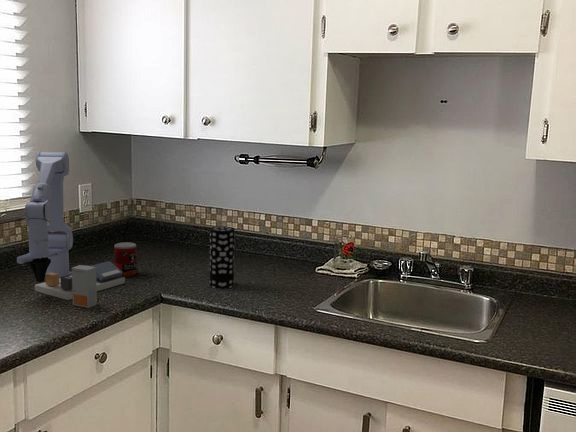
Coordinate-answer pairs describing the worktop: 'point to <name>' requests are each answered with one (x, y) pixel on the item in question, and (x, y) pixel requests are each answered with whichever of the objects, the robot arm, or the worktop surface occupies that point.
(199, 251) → the worktop surface
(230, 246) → the white-spotted black cylinder
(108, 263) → the rocker
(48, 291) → the panel
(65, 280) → the black fader knob
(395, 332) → the worktop surface
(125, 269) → the canned food
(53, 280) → the orange fader knob
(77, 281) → the skincare box
